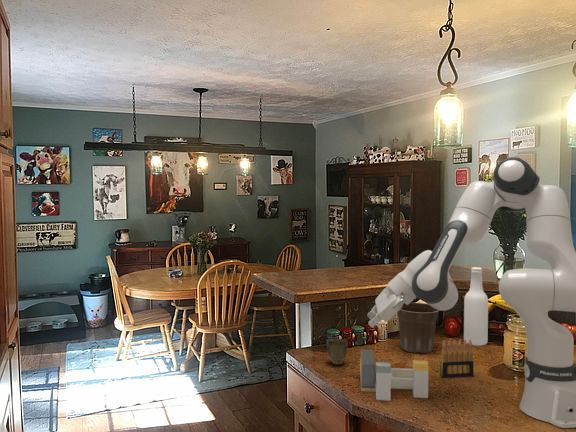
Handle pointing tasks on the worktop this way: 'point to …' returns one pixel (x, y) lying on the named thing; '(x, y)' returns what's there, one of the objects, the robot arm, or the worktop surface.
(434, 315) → the plant pot
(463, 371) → the ammunition clip
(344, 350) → the cup
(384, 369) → the block
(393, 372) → the parts tray
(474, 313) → the white bottle
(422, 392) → the block
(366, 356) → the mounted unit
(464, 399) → the worktop surface
